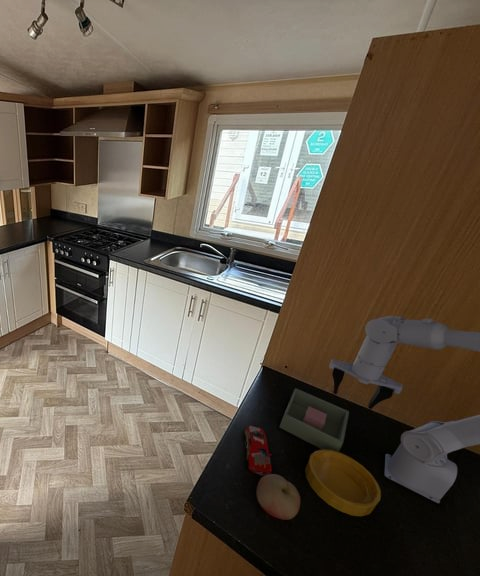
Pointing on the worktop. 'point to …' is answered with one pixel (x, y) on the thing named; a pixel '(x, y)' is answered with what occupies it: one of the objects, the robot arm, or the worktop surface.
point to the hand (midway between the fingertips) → (352, 399)
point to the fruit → (278, 497)
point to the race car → (257, 451)
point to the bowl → (342, 482)
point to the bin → (323, 439)
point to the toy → (314, 418)
